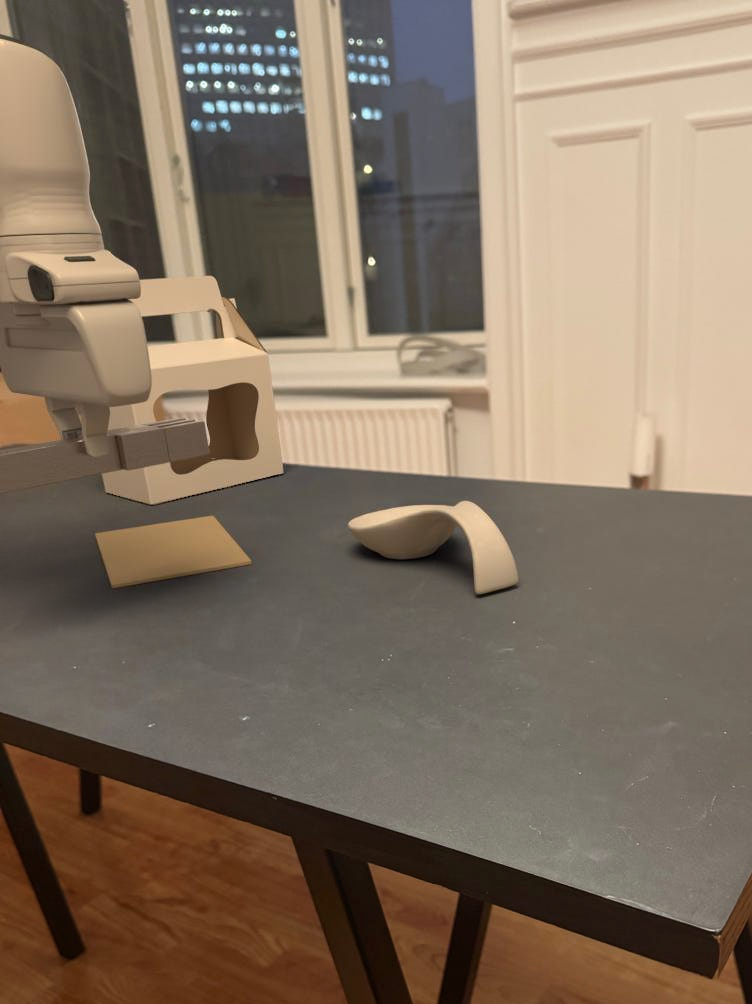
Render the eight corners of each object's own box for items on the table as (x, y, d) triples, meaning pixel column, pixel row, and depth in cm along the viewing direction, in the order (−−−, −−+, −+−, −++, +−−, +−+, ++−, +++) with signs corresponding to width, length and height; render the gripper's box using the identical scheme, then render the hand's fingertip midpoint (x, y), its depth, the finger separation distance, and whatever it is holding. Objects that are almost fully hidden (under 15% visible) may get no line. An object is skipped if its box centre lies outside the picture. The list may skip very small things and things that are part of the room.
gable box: (236, 464, 146) (207, 275, 135) (286, 474, 138) (259, 273, 127) (103, 493, 131) (59, 284, 120) (150, 506, 123) (107, 282, 112)
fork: (-6, 497, 71) (-16, 459, 70) (-25, 491, 74) (-35, 453, 73) (210, 454, 84) (204, 421, 82) (187, 449, 86) (181, 417, 85)
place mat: (252, 564, 97) (251, 560, 97) (112, 588, 92) (111, 584, 91) (213, 518, 115) (213, 515, 115) (95, 536, 110) (94, 533, 110)
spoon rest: (332, 550, 100) (325, 485, 98) (424, 529, 106) (420, 467, 103) (448, 608, 82) (443, 530, 79) (552, 579, 88) (550, 505, 85)
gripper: (-41, 282, 77) (0, 447, 82) (66, 276, 64) (107, 474, 69) (35, 278, 81) (69, 436, 86) (150, 272, 68) (182, 459, 73)
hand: (87, 453), depth 78 cm, fingers closed on fork, 2 cm apart
